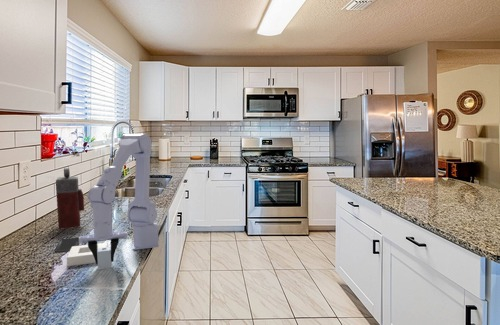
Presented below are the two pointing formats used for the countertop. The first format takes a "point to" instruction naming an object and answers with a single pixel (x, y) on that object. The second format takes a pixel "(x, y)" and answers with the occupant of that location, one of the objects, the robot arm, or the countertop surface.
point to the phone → (66, 244)
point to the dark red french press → (69, 200)
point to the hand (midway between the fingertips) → (104, 261)
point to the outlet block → (82, 255)
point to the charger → (104, 258)
